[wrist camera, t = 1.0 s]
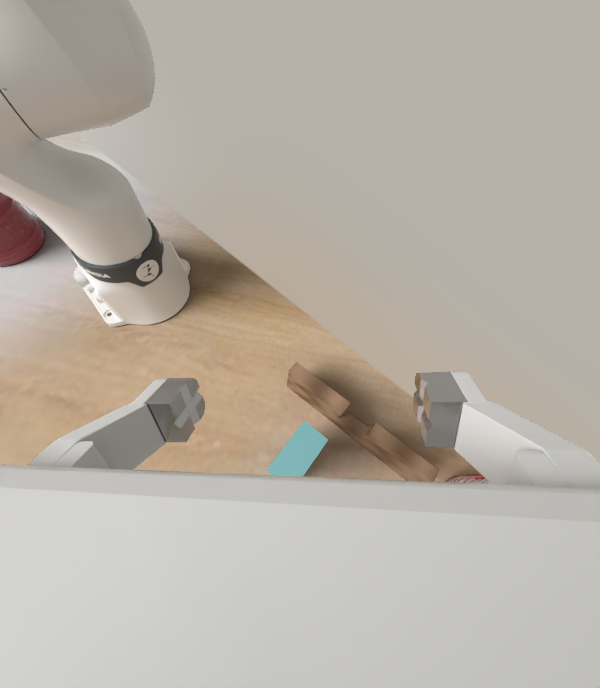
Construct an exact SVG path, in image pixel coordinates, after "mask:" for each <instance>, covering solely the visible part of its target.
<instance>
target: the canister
mask: <svg viewBox="0 0 600 688" xmlns="http://www.w3.org/2000/svg"><path fill="white" fill-rule="evenodd" d="M44 239H45V233H44V230H43V229H42V227H41V225H40V224H39V222H38V221H37V220H36V219H35V218H34V217H33V216H32V215H30V214H29V213H28V212H27V211H26V210H25V209H24V208H23V207H22V206H21V204H20V203H18V202H17V201H15V200H13V199H12V198H10V197H8V196H6V195H4V194H3V193H1V192H0V266H8V265H13V264H16V263H19V262H22V261H24V260H26V259H28V258H29V257H31V256H32V255H34V254H35V253H36V252H37V251H38V250H39V249H40V248H41V246H42V245H43V242H44Z"/></svg>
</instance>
